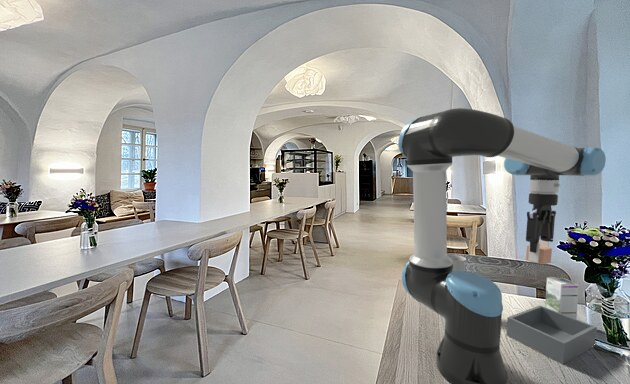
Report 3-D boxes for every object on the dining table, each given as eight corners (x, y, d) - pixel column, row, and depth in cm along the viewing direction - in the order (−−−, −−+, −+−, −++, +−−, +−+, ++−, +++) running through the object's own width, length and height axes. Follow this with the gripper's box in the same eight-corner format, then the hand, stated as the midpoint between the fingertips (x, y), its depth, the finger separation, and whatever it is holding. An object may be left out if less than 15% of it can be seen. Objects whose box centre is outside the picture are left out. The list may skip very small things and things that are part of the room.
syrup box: (577, 328, 85) (580, 283, 84) (558, 328, 85) (561, 283, 84) (561, 318, 90) (564, 276, 89) (543, 318, 91) (546, 276, 90)
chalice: (438, 302, 102) (440, 255, 100) (450, 298, 105) (452, 253, 103) (455, 311, 95) (457, 261, 94) (468, 307, 98) (470, 259, 97)
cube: (542, 264, 89) (544, 249, 89) (525, 260, 94) (526, 246, 93) (550, 262, 91) (551, 248, 91) (533, 258, 96) (534, 244, 95)
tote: (562, 364, 69) (564, 343, 68) (506, 335, 81) (507, 317, 81) (595, 345, 76) (596, 327, 76) (538, 321, 88) (540, 305, 88)
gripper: (542, 194, 83) (536, 267, 85) (570, 193, 91) (565, 260, 93) (515, 192, 90) (510, 260, 92) (544, 191, 98) (539, 254, 100)
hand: (538, 260), depth 92 cm, fingers closed on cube, 5 cm apart
